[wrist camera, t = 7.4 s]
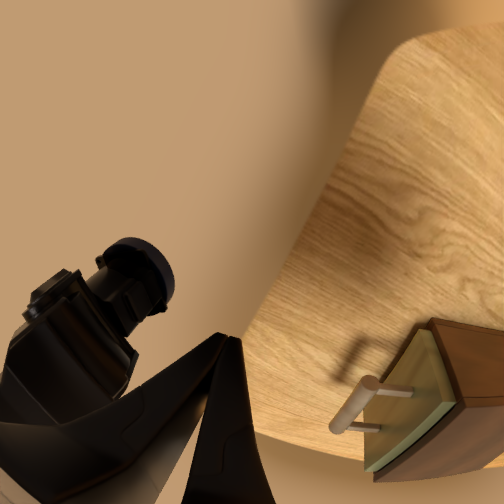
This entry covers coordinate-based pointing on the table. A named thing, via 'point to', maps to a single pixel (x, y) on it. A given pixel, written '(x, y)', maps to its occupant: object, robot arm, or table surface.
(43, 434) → the robot arm
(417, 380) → the drawer
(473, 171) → the table surface
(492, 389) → the cabinet
